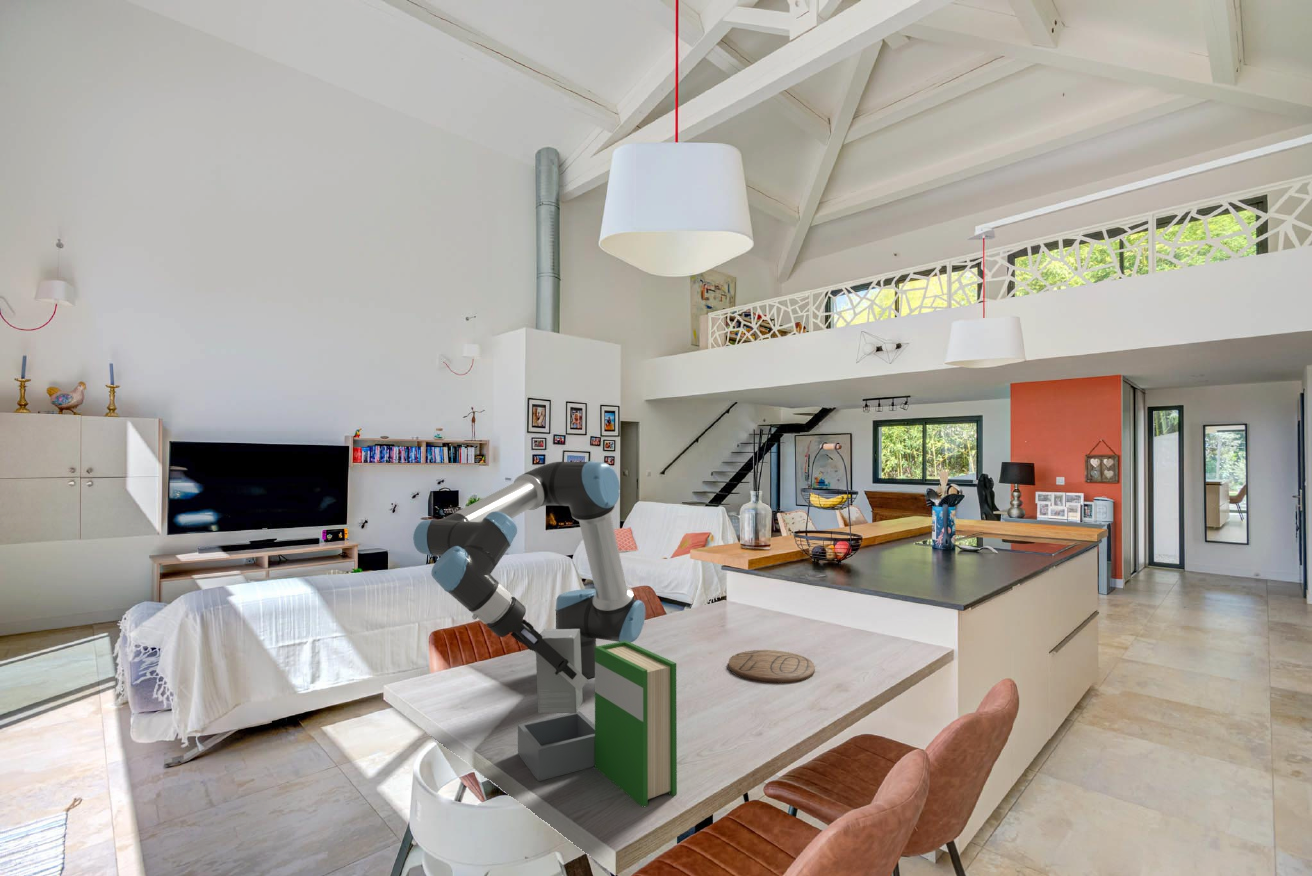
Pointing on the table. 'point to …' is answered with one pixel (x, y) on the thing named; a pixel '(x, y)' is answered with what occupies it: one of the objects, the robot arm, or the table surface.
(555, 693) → the skincare box
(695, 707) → the table surface
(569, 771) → the bin
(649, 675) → the hardback book
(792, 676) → the trivet
